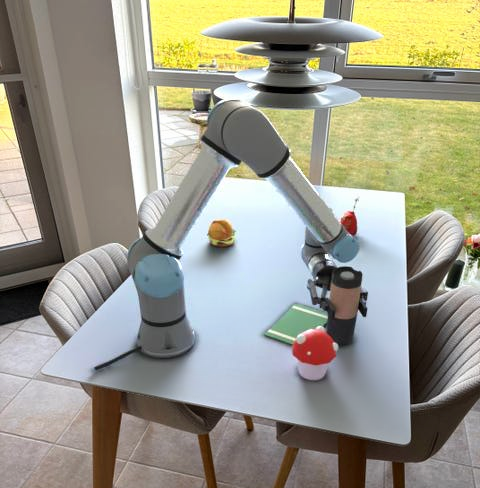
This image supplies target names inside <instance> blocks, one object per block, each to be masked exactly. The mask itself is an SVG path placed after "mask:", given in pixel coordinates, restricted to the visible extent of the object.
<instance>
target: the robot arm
mask: <svg viewBox="0 0 480 488" xmlns="http://www.w3.org/2000/svg"><path fill="white" fill-rule="evenodd" d="M282 138H283V137H281V135H280V133H279V132H278V131H277V130H276V128H275V127H274V125H273V124H272V122H271V120H270V119H269V118H268V117H267V116H266V115H265V114H264V113H263V112H262V111H260V110H259V109H257V108H255V107H253V106H251V105H250V104H249V103H247V102H246V101H243V100H241V99H238V98H237V99H236V98H225V99H222V100H220V101H218V102H217V103H215V104H214V105H213V106H212V107H211V109H210V110H209V112H208V115H207V118H206V129H205V130H204V132H203V134H202V135H201V137H200V139H199V143H200V150H199V152H198V154H197V156H196V157H195V159H194V161H193V163H192V164H191V166H190V168H189V169H188V171H187V173H186V174H185V176H184V178H183V180H182V181H181V182H180V184H179V186H178V188H177V190H176V191H175V193H174V194H173V196H172V198H171V200H170V201H169V203H168V205H167V206H166V208H165V210H164V211H163V213H162V215H161V217H160V218H159V220H158V221H157V223H156V225H155V226H154V228H149V229H146V230H145V232H144V233H143V235H142V237H139V238H137V239H136V240H134V241H133V242H132V243H131V244H130V246H129V248H128V251H127V254H126V260H127V262H126V263H127V268H128V271H129V273H130V275H131V278H132V280H133V283H134V286H135V290H136V292H137V293H136V294H137V297H138V304H139V310H140V324H139V327H138V333H137V336H136V337H137V338H136V341H137V346H136V347H134V348H132V349H130V350H128V351H126V352H124V353H121V354H120V355H118V356H116V357H114V358H112V359H110V360H108V361H106V362H103V363H101V364H98V365H96V366H94V367H93V369H94V370H95V371H99V370H101V369H104V368H107V367H109V366H110V365H113V364H115V363H117V362H118V361H121V360H123V359H125V358H126V357H129V356H131V355H132V354H135V353H136V352H137V353H138V352H139V351H140V352H141V353H142V354H144V355H145V356H147V357H150V358H154V359H172V358H176V357H179V356H181V355H183V354H185V353H187V352H189V351H190V350H191V349H192V348H193V346H194V345H195V341H196V337H195V336H196V335H195V331H194V328H193V327H192V325H191V322H190V320H189V319H188V316H187V309H186V296H185V295H186V294H185V275H184V274H185V273H184V271H183V266H182V263H181V262H180V260H181V259H182V257H183V255H184V249H183V244H184V243H185V241H186V240H187V238H188V237H189V235H190V233H191V231H193V229H194V227H195V226H196V224H197V222H198V220H199V219H200V217H201V216H202V214H203V212H204V211H205V210H206V208H207V206H208V205H209V203H210V202H211V200H212V198H213V197H214V195H215V194H216V192H217V191H218V189H219V187H220V185H221V183H223V181H224V179H225V177H226V176H227V174H228V172H230V169H233V168H238V167H239V166H240V165H241V163H243V164H244V165H246V166H247V167H248V168H249V169H250V170H252V171H253V173H255V175H256V176H257V177H258V178H259V179H262V180H266V181H267V182H268V183H269V185H270V186H271V187H272V188H273V189H274V191H276V193H277V194H278V195H279V196H280V198H281V199H282V200H283V201H284V202H285V203H286V205H287V206H288V207H289V208H290V209H291V211H292V212H293V213H294V214H295V215H296V216H297V218H298V219H299V220H300V221H301V222H302V223H303V225H304V226H305V231H304V242H303V243H302V245H301V246H300V255H301V259H302V261H303V263H304V264H305V266H306V268H307V270H308V271H309V273H310V275H311V277H312V279H313V280H312V279H310V278H308V279H307V281H306V289H307V290H308V291H309V294H310V295H309V296H310V300H311V304H312V306H317V305H319V306H318V308H319V309H322V310H323V312H326V313H328V314H329V316H330V318H331V320H334V319H335V309H334V307H333V305H332V304H331V302H330V300H329V298H330V297H327V294H328V292H330V289H331V281H332V273H333V270H334V269H335V268H338V267H339V266H337V264H336V262H335V260H336V261H337V262H338V263H341V264H346V263H347V264H348V263H350V262H351V261H353V259H355V258H357V255H358V254H359V252H360V242H359V241H358V239H356V237H355V235H354V236H352V235H350V234H349V233H348V232H347V230H346V229H345V228H344V226H343V225H342V224H341V223H340V221H341V220H339V219H338V218H337V217H338V216H337V215H335V213H334V211H333V208H331V207H330V206H329V205H327V203H326V202H325V200H324V198H322V196H321V195H320V194H319V193H318V192H317V190H316V189H315V188H314V186H313V185H312V183H310V181H309V180H308V178H306V176H305V175H304V174H303V172H302V171H301V169H300V168H299V167H298V166H297V164H296V163H295V162H294V160H293V159H292V158H291V149H290V148H289V147H288V146H287V144H286V143H285V141H284V140H283V139H282ZM317 288H319V289H321V292H320V296H318V291H317ZM368 296H369V291H368V290H367V289H365V288H364V287H363V286H362V285H361V291H360V299H359V306H358V312H359V313H360V314H361V316H362V317H363V318H367V315H368V306H367V301H368Z"/></svg>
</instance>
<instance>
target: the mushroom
mask: <svg viewBox="0 0 480 488" xmlns="http://www.w3.org/2000/svg"><path fill="white" fill-rule="evenodd" d="M326 332H327V331H326V328H325V327H324V326H318V327H317V328H316V330H314V329H310V330H307V331H305V332H303V333H301V334H299V335H298V336H297V338H296V340H295V342H294V344H293V345H291V351H292V356H293V357H294V358H296V363H297V370H298V374H299V375H300V377H302V378H303V379H306V380H309V381H318V380H321V379H323V378H324V377H325V375H326V373H327V370H328V367H329V364H330V363H331V362H332V361H333V360H334V359H335V358H336V357H337V351H339V345H337V344H336V343H335V342H334V341H333V339H332V338H331V337H330V336H329V335H328V334H327V333H326Z"/></svg>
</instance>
